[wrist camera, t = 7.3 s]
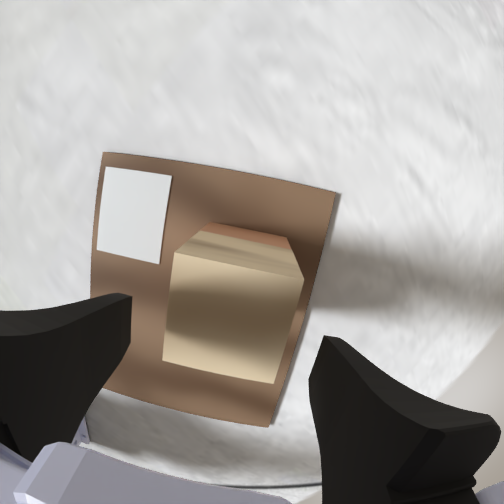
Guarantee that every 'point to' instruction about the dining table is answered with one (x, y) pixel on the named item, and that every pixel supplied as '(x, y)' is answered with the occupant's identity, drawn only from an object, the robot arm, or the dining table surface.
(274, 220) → the build board
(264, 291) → the maple block
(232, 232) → the terracotta base block
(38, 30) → the dining table surface
